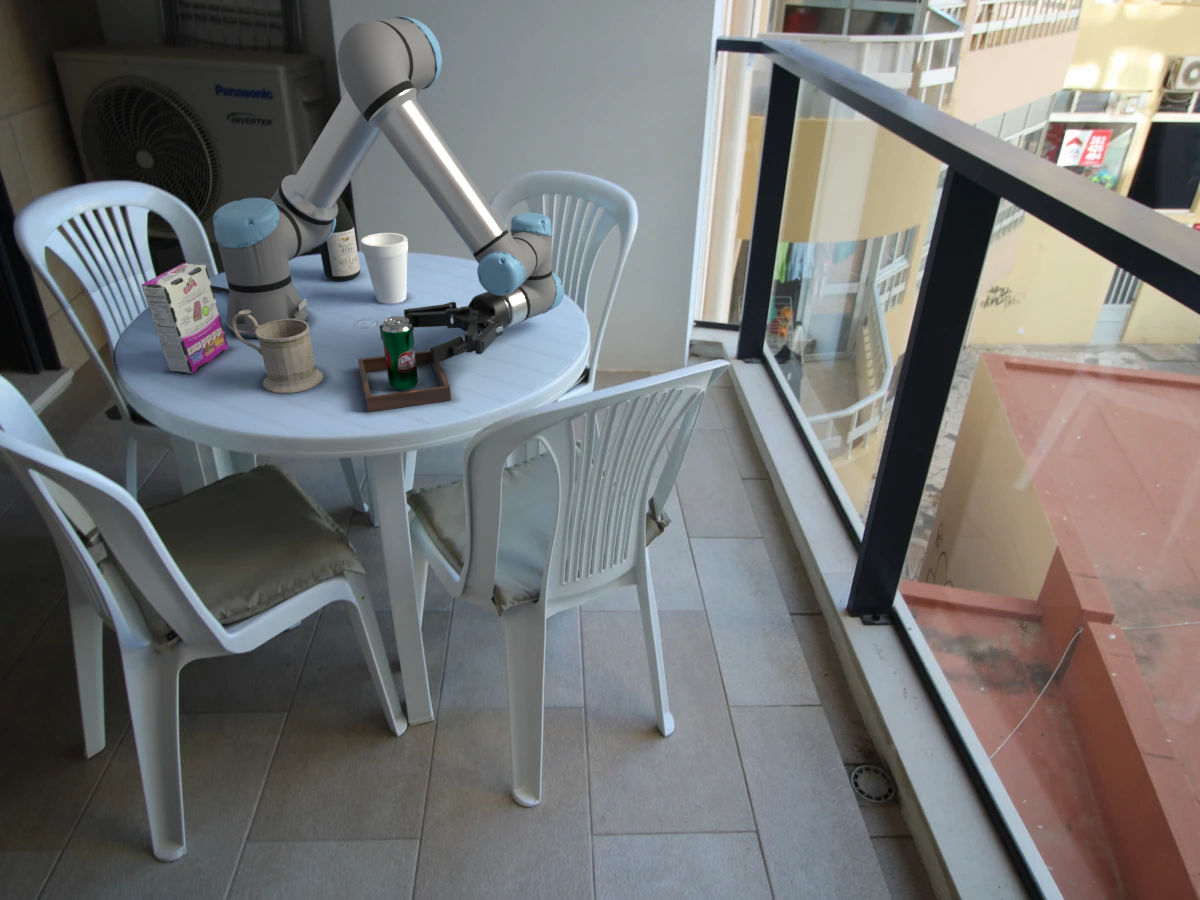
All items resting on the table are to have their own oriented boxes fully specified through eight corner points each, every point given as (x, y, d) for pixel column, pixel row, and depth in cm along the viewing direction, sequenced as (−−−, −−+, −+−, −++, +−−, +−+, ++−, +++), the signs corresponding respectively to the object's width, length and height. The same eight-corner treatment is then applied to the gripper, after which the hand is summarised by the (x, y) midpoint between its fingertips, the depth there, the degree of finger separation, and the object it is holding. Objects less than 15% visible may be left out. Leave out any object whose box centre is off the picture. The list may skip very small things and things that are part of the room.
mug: (333, 371, 139) (321, 308, 132) (303, 396, 131) (289, 330, 124) (261, 361, 141) (246, 299, 135) (227, 385, 133) (210, 320, 127)
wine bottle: (367, 276, 180) (347, 140, 164) (336, 285, 175) (313, 145, 159) (349, 268, 184) (327, 134, 168) (318, 276, 180) (293, 139, 164)
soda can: (404, 395, 132) (396, 329, 125) (382, 387, 134) (373, 322, 128) (425, 383, 135) (417, 319, 129) (403, 376, 138) (395, 312, 131)
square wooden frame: (359, 371, 139) (357, 358, 138) (435, 361, 143) (434, 349, 142) (368, 412, 127) (366, 398, 125) (451, 400, 131) (450, 387, 129)
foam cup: (422, 296, 170) (416, 238, 163) (392, 309, 163) (384, 249, 157) (391, 287, 174) (384, 230, 167) (360, 300, 168) (351, 240, 161)
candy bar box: (206, 346, 146) (182, 261, 138) (230, 349, 146) (208, 264, 137) (166, 372, 137) (139, 283, 128) (192, 375, 136) (166, 286, 128)
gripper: (545, 347, 141) (457, 387, 127) (454, 311, 154) (365, 343, 140) (545, 308, 137) (453, 345, 123) (451, 274, 150) (359, 304, 136)
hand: (406, 344), depth 132 cm, fingers open, 13 cm apart
